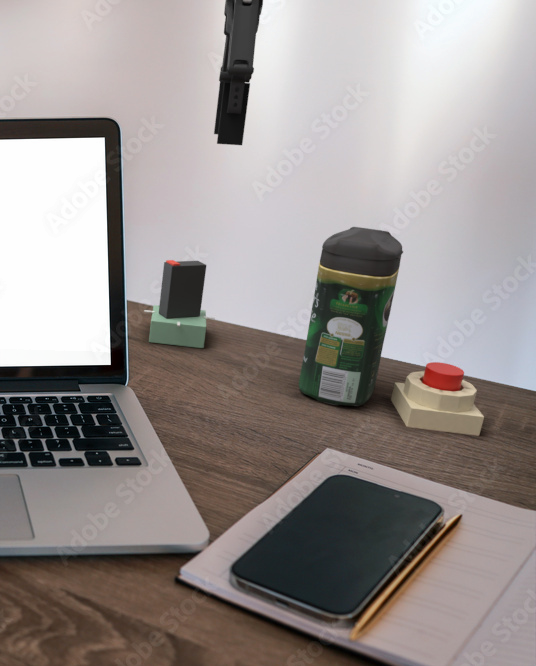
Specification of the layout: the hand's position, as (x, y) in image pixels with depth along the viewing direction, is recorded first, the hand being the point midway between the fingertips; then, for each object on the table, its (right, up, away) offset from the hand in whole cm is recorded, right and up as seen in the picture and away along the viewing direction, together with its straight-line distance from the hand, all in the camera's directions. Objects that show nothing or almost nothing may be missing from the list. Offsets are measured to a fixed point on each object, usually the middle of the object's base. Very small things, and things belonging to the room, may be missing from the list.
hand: (226, 139), depth 92 cm
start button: (+20, -29, -10) cm, 36 cm away
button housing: (+20, -32, -9) cm, 39 cm away
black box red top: (-4, -21, +10) cm, 23 cm away
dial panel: (-4, -23, +11) cm, 26 cm away
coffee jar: (+11, -30, -4) cm, 32 cm away
